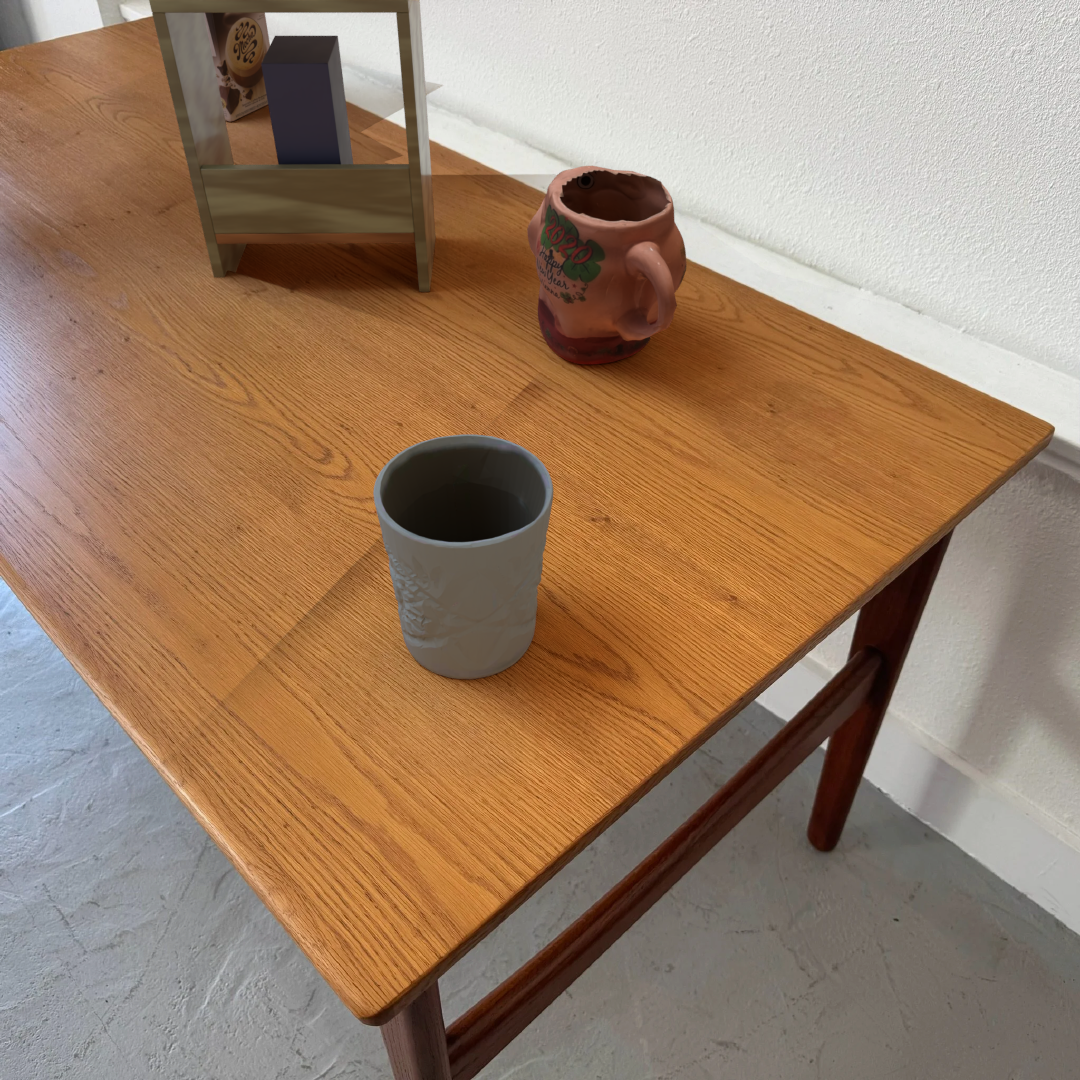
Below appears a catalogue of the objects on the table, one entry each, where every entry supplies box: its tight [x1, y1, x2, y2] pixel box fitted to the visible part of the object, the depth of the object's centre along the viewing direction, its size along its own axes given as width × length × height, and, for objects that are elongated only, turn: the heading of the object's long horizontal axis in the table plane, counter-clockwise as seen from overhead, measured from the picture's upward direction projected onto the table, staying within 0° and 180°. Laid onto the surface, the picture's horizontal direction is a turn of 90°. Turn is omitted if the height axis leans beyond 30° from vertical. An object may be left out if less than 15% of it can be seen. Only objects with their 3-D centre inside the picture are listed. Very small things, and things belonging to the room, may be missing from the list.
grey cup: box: [373, 433, 554, 680], centre depth 63 cm, size 10×10×12 cm
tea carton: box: [261, 35, 354, 164], centre depth 92 cm, size 6×7×14 cm
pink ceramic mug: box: [526, 165, 687, 365], centre depth 86 cm, size 20×12×14 cm, turn 30°
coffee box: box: [204, 13, 271, 122], centre depth 125 cm, size 9×6×16 cm
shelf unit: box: [148, 0, 437, 293], centre depth 92 cm, size 11×20×26 cm, turn 91°
